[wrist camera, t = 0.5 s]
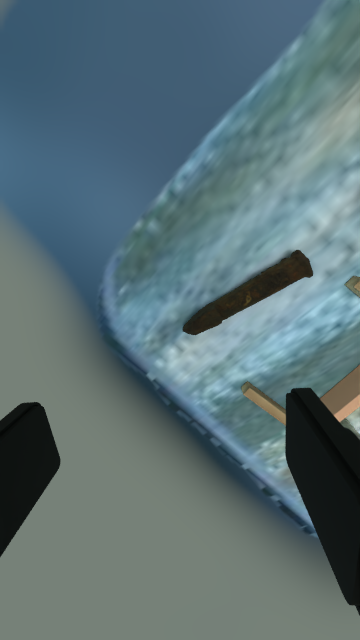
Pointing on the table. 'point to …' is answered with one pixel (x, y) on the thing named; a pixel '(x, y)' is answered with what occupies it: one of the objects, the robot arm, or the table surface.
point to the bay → (354, 284)
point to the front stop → (344, 396)
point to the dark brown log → (251, 292)
